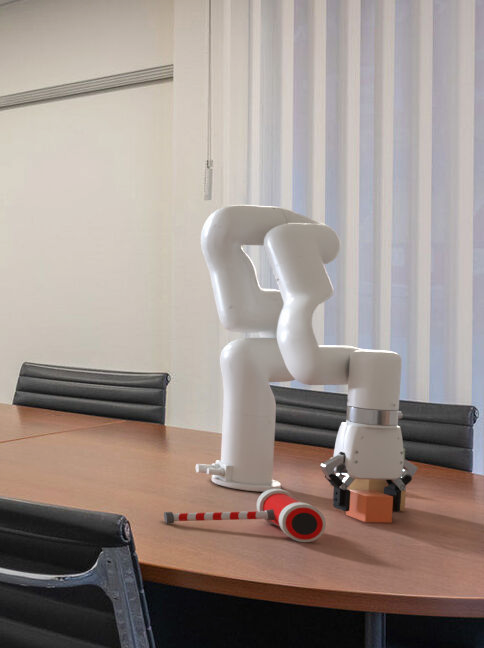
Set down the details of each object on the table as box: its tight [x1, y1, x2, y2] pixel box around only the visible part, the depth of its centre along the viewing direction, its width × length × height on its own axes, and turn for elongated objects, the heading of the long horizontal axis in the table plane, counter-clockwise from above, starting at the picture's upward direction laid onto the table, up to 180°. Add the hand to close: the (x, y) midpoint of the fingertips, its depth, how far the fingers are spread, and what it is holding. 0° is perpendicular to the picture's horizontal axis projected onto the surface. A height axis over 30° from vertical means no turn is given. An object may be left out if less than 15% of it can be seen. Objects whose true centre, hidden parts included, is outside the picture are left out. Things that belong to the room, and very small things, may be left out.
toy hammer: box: [163, 488, 327, 543], centre depth 148 cm, size 23×12×6 cm, turn 77°
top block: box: [345, 490, 393, 524], centre depth 156 cm, size 5×5×5 cm
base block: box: [348, 479, 407, 512], centre depth 165 cm, size 6×6×6 cm
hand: (366, 509), depth 156 cm, fingers open, 8 cm apart
